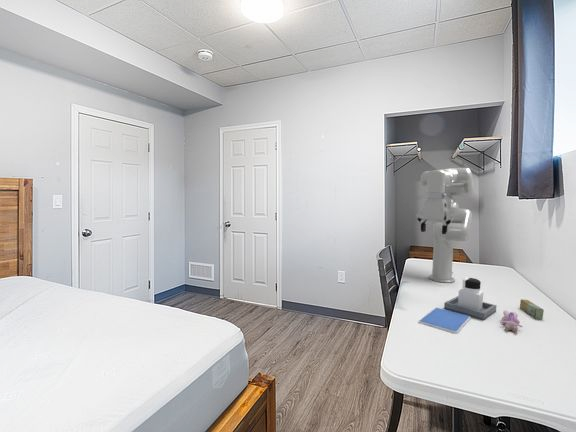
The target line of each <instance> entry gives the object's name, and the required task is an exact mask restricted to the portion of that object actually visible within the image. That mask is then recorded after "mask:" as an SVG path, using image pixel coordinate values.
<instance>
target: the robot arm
mask: <svg viewBox="0 0 576 432" xmlns="http://www.w3.org/2000/svg"><path fill="white" fill-rule="evenodd" d="M420 183H421V185H422V186H423V187H426V199H424V201H423V207H422V211H420V212H418V213H416V214H415V216H416V218H417V220H418V222H419V223H420V232H422V233H424V232H425V233H426V229H427V228H426V227H427V224H426V222H427V221H432V222H433V221H434V222H436V223H434V224H433V227H432V237H433V253H432V271H431V274H430V275H428V279H429V280H431V281H434V282H438V283H447V284H448V283H454V282H455V280H456V279H455V278H454V277H453V276H452V275H453V258H454V257H453V256H454V247H453V246H452V244H451V243H450V241H453V242H454V241H455V242H467V241H468V240H469V238H470V234H471V228H472V224H473V223H472V222H473V213H472V211H471V210H470V209H468V208H459V207H460V204H459V202H458V200H457V199H455V198H454V197H462V196H463V197H468V196H472V195H473V193H474V192H475V191H474V187H475V185H474V177H473V173H472V171H471V169H470V168H468V167H449V168H443V169H435V170H433V169H432V170H426V171H423V172H422V173H421V176H420Z"/></svg>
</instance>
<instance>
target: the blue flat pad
mask: <svg viewBox="0 0 576 432" xmlns="http://www.w3.org/2000/svg"><path fill="white" fill-rule="evenodd" d="M470 319H472V317H471V316H468V315H464V314H461V313H457V312H454V311H450V310H447V309H444V308H440V307H435V308H433V309H432V310H431V311H430V312H428V313H427V314H425V315H424V316H423V317H422V318H421V319H420V320H418V323H419V324H420V325H425V326H427V327H431V328H434V329H437V328H438V330H441V331H444V332H447V333H451V334H455V335H457V334H459V333H460V331H461V330H462V328H464V327H465V325H466V324H467V323H469V321H470Z"/></svg>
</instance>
